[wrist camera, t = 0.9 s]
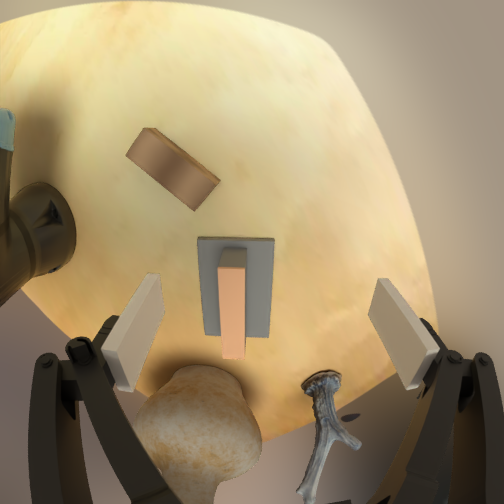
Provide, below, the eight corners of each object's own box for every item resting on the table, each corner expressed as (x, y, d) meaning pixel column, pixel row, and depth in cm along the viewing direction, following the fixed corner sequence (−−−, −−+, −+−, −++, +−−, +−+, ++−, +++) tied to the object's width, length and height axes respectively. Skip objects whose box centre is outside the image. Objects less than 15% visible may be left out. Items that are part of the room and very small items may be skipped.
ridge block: (206, 331, 43) (198, 361, 37) (198, 237, 37) (186, 259, 30) (268, 333, 43) (269, 364, 37) (274, 238, 37) (277, 261, 30)
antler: (326, 364, 46) (352, 490, 23) (350, 379, 48) (380, 491, 25) (281, 394, 50) (287, 510, 27) (307, 407, 52) (320, 512, 29)
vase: (259, 419, 54) (257, 541, 26) (163, 410, 54) (134, 523, 26) (265, 352, 45) (266, 528, 17) (142, 342, 45) (80, 490, 18)
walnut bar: (138, 152, 33) (125, 155, 29) (155, 128, 31) (143, 127, 28) (201, 203, 35) (194, 211, 32) (220, 180, 34) (215, 185, 30)
